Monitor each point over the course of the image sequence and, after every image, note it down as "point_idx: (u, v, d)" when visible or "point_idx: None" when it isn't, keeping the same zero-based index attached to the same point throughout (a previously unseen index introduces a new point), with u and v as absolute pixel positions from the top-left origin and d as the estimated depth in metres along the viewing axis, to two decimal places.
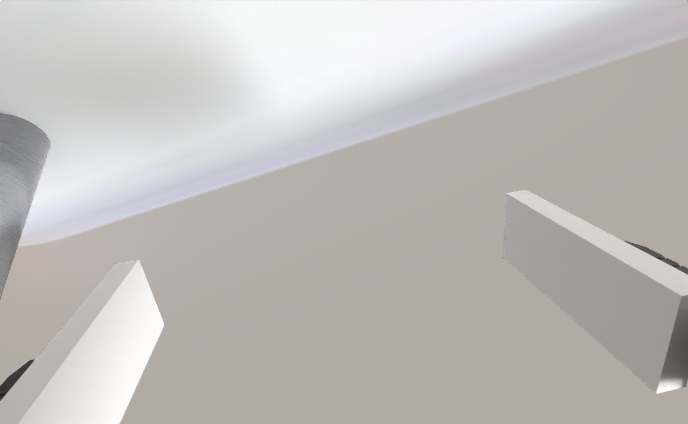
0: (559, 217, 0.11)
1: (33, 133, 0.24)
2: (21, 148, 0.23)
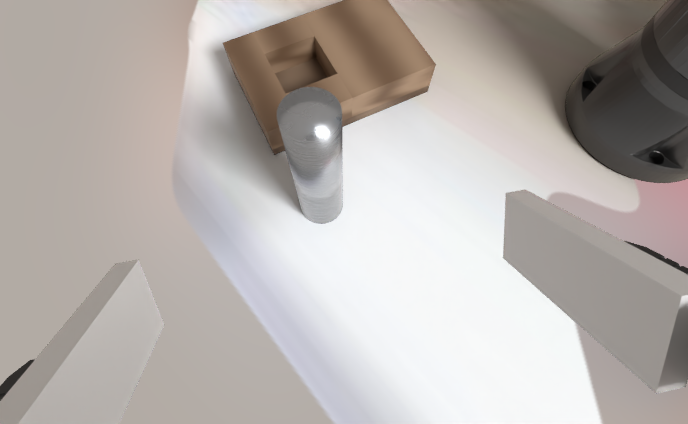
0: (559, 217, 0.11)
1: (335, 215, 0.35)
2: (337, 206, 0.33)
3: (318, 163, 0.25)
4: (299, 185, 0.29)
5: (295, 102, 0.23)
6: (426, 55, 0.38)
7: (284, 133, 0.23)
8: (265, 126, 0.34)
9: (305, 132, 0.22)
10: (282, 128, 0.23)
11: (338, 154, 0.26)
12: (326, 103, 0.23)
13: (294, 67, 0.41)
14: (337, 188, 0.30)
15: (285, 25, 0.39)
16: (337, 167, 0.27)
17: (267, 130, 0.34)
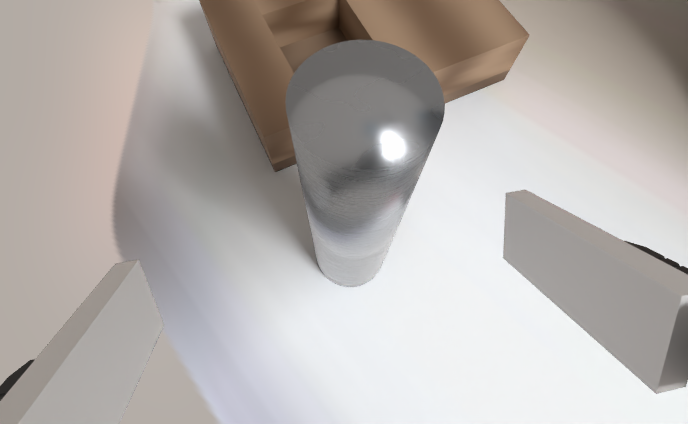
0: (559, 217, 0.11)
1: (374, 275, 0.21)
2: (380, 264, 0.20)
3: (374, 212, 0.11)
4: (322, 240, 0.15)
5: (330, 74, 0.10)
6: (513, 21, 0.24)
7: (304, 148, 0.09)
8: (261, 127, 0.21)
9: (357, 147, 0.09)
10: (299, 136, 0.09)
11: (412, 190, 0.12)
12: (404, 77, 0.10)
13: (307, 39, 0.27)
14: (389, 242, 0.17)
15: None
16: (402, 213, 0.13)
17: (264, 134, 0.21)
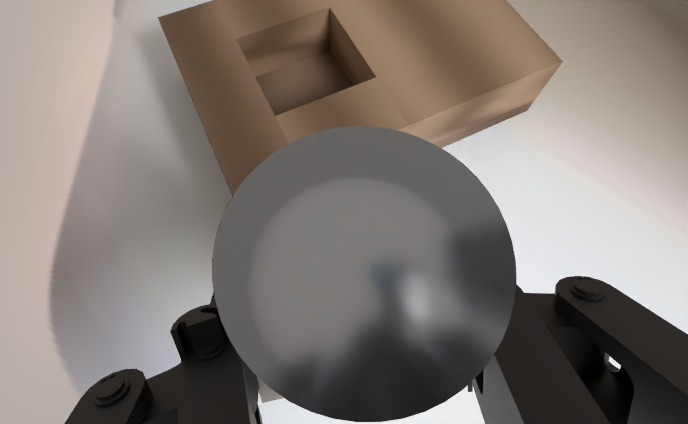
0: None
1: None
2: None
3: None
4: None
5: (300, 197, 0.05)
6: (542, 44, 0.20)
7: (246, 359, 0.05)
8: (231, 185, 0.16)
9: (351, 365, 0.04)
10: (236, 339, 0.05)
11: None
12: (436, 202, 0.05)
13: (293, 65, 0.23)
14: None
15: None
16: None
17: None
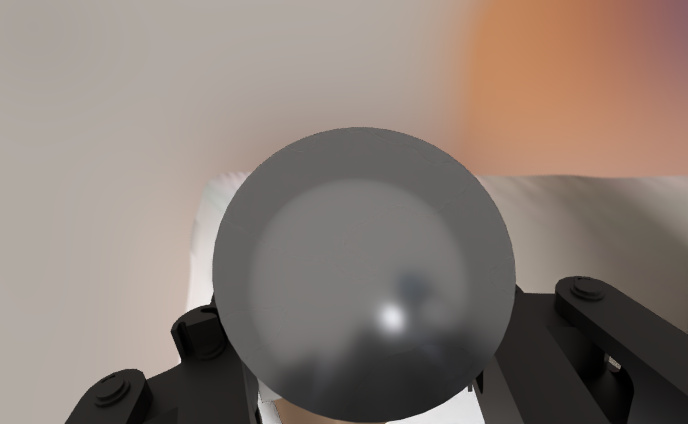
0: None
1: None
2: None
3: None
4: None
5: (300, 198, 0.05)
6: None
7: (246, 360, 0.05)
8: None
9: (351, 366, 0.04)
10: (236, 340, 0.05)
11: None
12: (436, 203, 0.05)
13: None
14: None
15: None
16: None
17: None
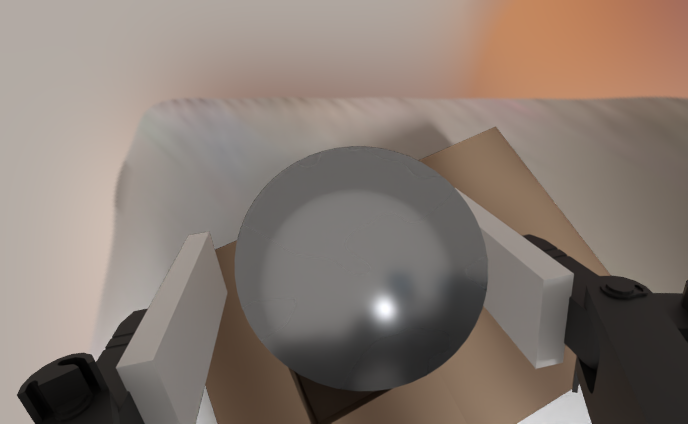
0: (473, 213, 0.12)
1: None
2: None
3: None
4: None
5: (307, 207, 0.06)
6: None
7: None
8: None
9: (350, 345, 0.05)
10: (255, 324, 0.06)
11: None
12: (422, 211, 0.06)
13: None
14: None
15: None
16: None
17: None
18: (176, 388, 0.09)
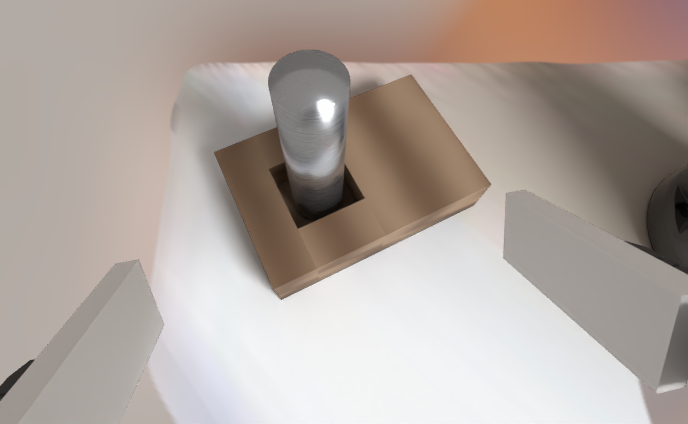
0: (559, 217, 0.11)
1: None
2: (337, 203, 0.29)
3: (318, 145, 0.20)
4: (293, 175, 0.24)
5: (292, 67, 0.19)
6: (478, 171, 0.29)
7: (277, 104, 0.18)
8: (271, 280, 0.26)
9: (304, 103, 0.18)
10: (275, 98, 0.18)
11: (342, 136, 0.21)
12: (330, 69, 0.19)
13: None
14: (338, 180, 0.25)
15: None
16: (340, 153, 0.22)
17: (274, 286, 0.25)
18: None
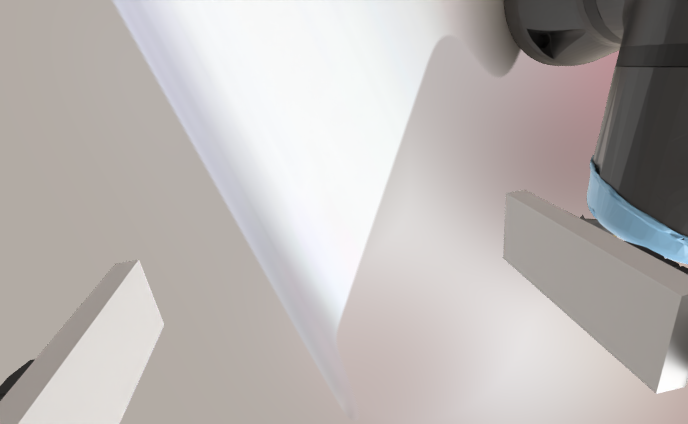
0: (559, 217, 0.11)
1: None
2: None
3: None
4: None
5: None
6: None
7: None
8: None
9: None
10: None
11: None
12: None
13: None
14: None
15: None
16: None
17: None
18: None
